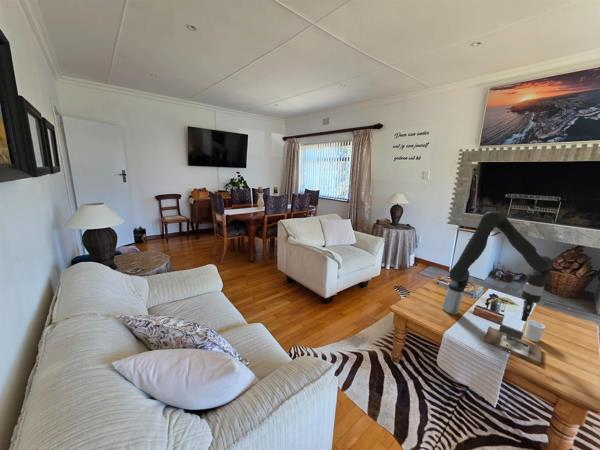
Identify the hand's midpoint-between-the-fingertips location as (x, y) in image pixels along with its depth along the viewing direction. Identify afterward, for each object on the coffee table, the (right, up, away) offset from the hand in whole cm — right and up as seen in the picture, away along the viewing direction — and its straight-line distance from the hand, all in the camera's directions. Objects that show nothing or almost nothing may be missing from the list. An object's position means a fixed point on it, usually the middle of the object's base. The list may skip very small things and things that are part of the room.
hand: (524, 317), depth 136 cm
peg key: (-2, -15, +5) cm, 17 cm away
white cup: (+15, -17, +12) cm, 26 cm away
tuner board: (-3, -18, +4) cm, 19 cm away
